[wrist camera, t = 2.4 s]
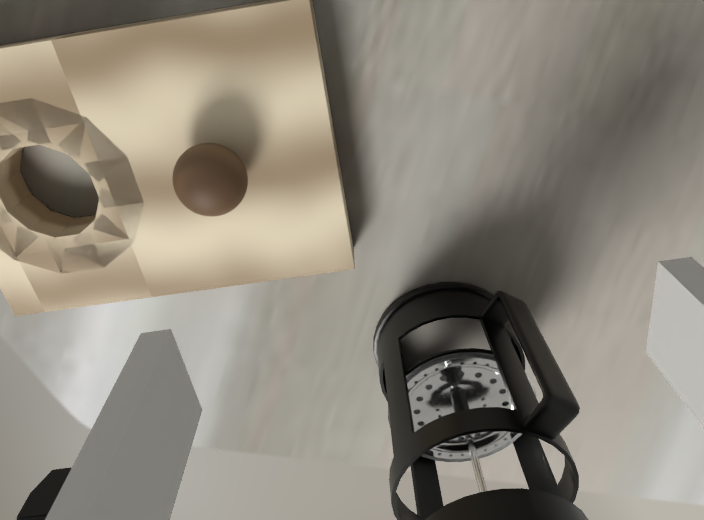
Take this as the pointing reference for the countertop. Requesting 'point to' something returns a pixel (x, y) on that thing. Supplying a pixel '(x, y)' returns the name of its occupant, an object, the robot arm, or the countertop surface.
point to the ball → (210, 179)
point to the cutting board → (171, 156)
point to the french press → (475, 407)
